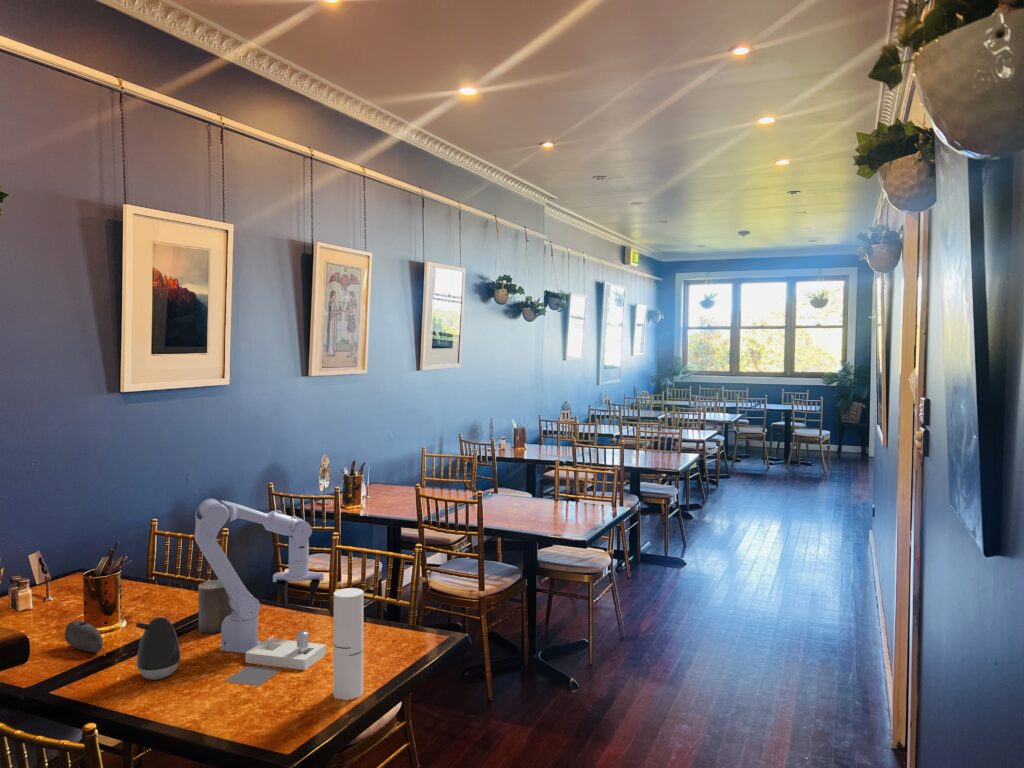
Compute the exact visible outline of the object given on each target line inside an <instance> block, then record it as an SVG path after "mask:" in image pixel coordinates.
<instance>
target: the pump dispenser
mask: <svg viewBox="0 0 1024 768" xmlns="http://www.w3.org/2000/svg"><path fill="white" fill-rule="evenodd" d="M135 627H136V628H139V629H141V630H144V631H143V633H142V635H141V638H140V642H139V644H138V648H137V649H138V650H137V655H136V656H137V657H136V667H137V668H138V671H139V673H140V675H141V676H142V677H144V678H145V679H147V680H152V681H154V680H155V681H157V680H163V679H165V678H168V677H170V676H172V674H173V673H174V672H175V671H176V670H177V668H178V665H179V663H180V660H181V658H182V657H181V655H182V654H181V647H180V642H179V638H178V636H177V633H176V630H175V628H174V626H173V624H172V623H171V621H170V620H169V619H168V618H166V617H165V616H158V617H154V618H152V619H151V620H150V621H149V622H148V623H143V622H136V624H135Z"/></svg>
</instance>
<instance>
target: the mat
mask: <svg viewBox="0 0 1024 768" xmlns="http://www.w3.org/2000/svg"><path fill="white" fill-rule="evenodd" d="M281 671H282V669H281V668H271V667H265V666H264V667H263V666H256V665H250V664H249V665H247V666H245V667H244V668H242V669H241V670H240V671H237V672H236V673H234V674H233V675H232V676H229V677H228V678H227V679H225V680H224V682H227V683H235V684H241V685H248V686H256V687H260V686H261V685H263V684H264V683H265V682H267V681H268V680H270V679H271V678H272V677H274V676H275V675H277V674H278V673H279V672H281Z"/></svg>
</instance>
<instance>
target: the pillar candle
mask: <svg viewBox="0 0 1024 768" xmlns="http://www.w3.org/2000/svg"><path fill="white" fill-rule="evenodd" d="M197 589H198V599H197V600H198V631H199V633H201V632H204V633H203V634H217V633H216V632H218V633H221V627H222V623H223V620H224V619H225V618H226V617H227V616H228V615H232V612H233V609H232V608H231V607H230V605H229V597H228V595H227V593H226V590H225V588H224V587H223V585H222V584H221V582H220V580H219V579H214V580H208V581H205V582H201V583H200V584H198V587H197Z"/></svg>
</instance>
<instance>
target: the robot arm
mask: <svg viewBox="0 0 1024 768" xmlns="http://www.w3.org/2000/svg"><path fill="white" fill-rule="evenodd" d="M194 514H195V515H194V516H195V528H194V540H195V543H196V545H197V546H198V548H199V549H200V551H201V553H202V554H203V556H204V557H205V559H206V561H207V562H208V564H209V566H210V567H211V569H212V570H213V573H214V574H215V576H216V577H217V580H220V582H221V584H222V585H223V587H224V588H225V590H226V593H227V595H228V597H229V605H230V607H231V608H232V615H228V616H227V617H226V618H225V619H224V620H223V623H222V627H221V632H220V633H221V635H220V643H221V644H220V647H219V650H220V651H226V652H232V653H233V652H235V653H242V654H245V653H246V652H247V651H249V650H251V649H252V648H254V647H255V646H257V645H259V644H260V643H262V642H263V641H260V640H259V632H258V631H259V612H260V610H261V603H260V601H259V600H258V599H257V598H256V597H254V595H252V594H251V592H250V591H249V590H248V589H247V587H246V586H245V585H244V583H243V581H242V580H241V578H240V577H239V575H238V573H237V572H236V570H235V568H234V567H233V565H232V563H231V562H230V559H228V557H227V555H226V553H225V552H224V550H223V549H222V547H221V545H220V543H219V542H218V540H217V537H218V534H219V532H220V530H221V529H222V528H223V526H225V524H226V523H227V522H232V521H235V520H237V519H241V520H245V521H249V522H253V523H257V524H261V525H262V526H263V528H264V530H265V531H269V532H272V533H275V534H279V535H282V536H285V537H286V536H288V572H282V573H274V574H273V575H272V582H273V583H276V584H275V586H276V589H277V590H278V592H279V595H280V598H281V601H282V604H283V607H287V605H288V583H289V582H300V581H301V582H307V581H308V582H310V583H309V595H310V596H309V606H311V607H312V606H314V603H315V602H314V601H315V597H316V594H317V590H318V587H319V585H320V583H321V582H323V581H324V580H325V573H324V572H313V571H309V569H310V568H309V567H310V565H309V562H310V561H309V559H310V553H309V552H310V551H309V549H310V547H309V546H310V543H309V541H310V540H309V538H310V537H311V536H312V533H313V529H312V528H311V527H312V526H311V525H310V523H309V522H308V521H305V520H304V519H303V518H300V517H298V516H296V515H292V516H290V515H287V514H286V513H283V511H281V510H278V509H277V510H276V511H275V510H271V511H269V512H262V511H260V510H256V509H254V508H251V507H247V506H245V505H241V504H239V503H235V502H231V501H226V500H222V499H221V500H220V501H219V500H217V499H216V498H207V499H204V500H203V501H202V502H200V504H199V505H198V508H197V509H196V512H195V513H194Z"/></svg>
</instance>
